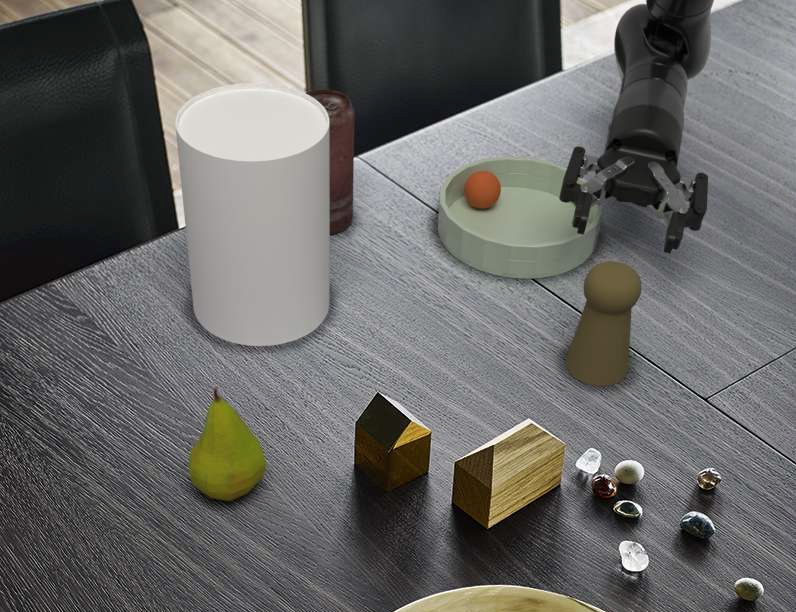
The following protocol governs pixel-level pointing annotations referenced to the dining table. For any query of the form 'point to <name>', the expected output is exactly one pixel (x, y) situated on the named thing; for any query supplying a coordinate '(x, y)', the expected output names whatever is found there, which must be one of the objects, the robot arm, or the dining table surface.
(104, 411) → the dining table surface
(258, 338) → the canister
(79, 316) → the dining table surface
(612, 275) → the brown pawn
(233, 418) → the fruit
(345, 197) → the can
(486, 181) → the ball
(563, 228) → the bowl
